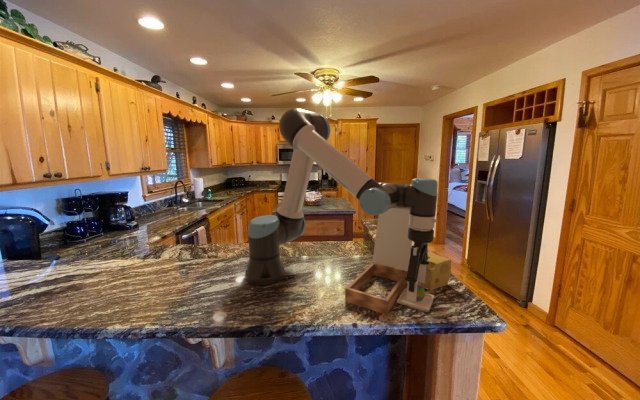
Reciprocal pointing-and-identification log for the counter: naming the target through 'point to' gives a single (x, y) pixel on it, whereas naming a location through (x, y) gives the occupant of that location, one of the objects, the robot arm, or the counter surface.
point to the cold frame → (371, 300)
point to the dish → (421, 305)
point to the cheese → (437, 271)
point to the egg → (420, 292)
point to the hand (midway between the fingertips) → (416, 290)
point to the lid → (393, 239)
